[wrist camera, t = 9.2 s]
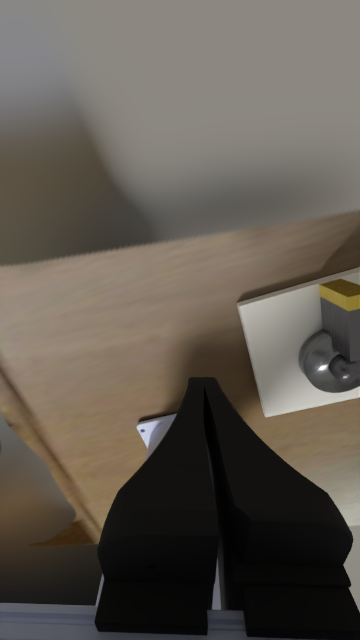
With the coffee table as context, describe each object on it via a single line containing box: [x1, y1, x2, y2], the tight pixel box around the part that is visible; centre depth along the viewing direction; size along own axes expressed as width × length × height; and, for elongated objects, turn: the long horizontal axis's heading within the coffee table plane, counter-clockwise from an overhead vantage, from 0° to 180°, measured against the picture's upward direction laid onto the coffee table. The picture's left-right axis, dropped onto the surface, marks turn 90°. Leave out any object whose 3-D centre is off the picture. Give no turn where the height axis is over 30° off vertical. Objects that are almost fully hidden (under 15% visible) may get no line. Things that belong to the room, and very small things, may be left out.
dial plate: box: [237, 267, 360, 417], centre depth 21 cm, size 13×14×1 cm
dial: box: [299, 279, 360, 393], centre depth 18 cm, size 10×6×4 cm, turn 17°
